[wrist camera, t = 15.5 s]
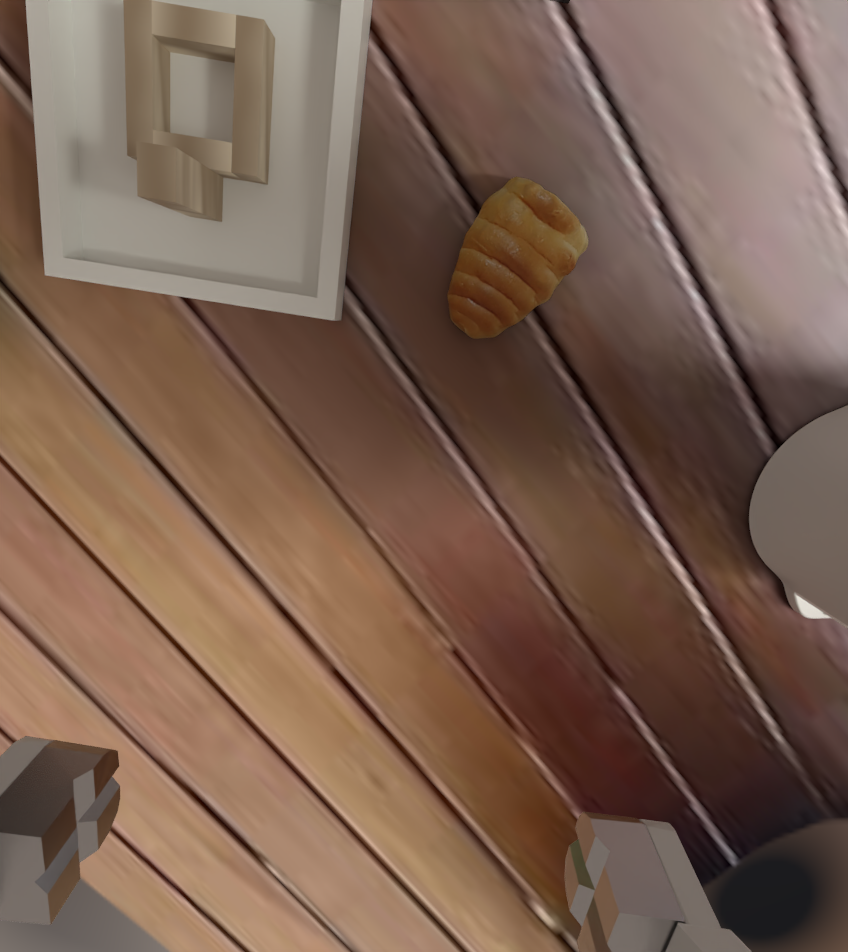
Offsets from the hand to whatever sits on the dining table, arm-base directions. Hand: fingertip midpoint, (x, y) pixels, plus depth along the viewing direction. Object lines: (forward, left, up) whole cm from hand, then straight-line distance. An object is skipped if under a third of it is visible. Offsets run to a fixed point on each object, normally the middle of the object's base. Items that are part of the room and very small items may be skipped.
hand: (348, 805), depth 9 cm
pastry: (-5, -12, -30) cm, 32 cm away
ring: (+15, -17, -29) cm, 36 cm away
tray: (+15, -16, -29) cm, 36 cm away
